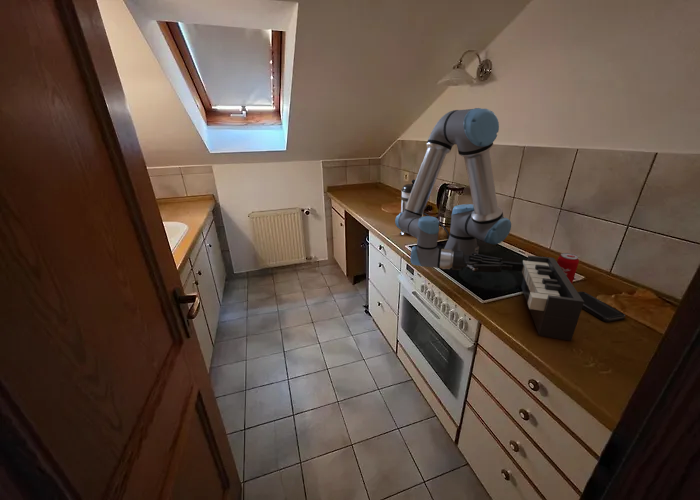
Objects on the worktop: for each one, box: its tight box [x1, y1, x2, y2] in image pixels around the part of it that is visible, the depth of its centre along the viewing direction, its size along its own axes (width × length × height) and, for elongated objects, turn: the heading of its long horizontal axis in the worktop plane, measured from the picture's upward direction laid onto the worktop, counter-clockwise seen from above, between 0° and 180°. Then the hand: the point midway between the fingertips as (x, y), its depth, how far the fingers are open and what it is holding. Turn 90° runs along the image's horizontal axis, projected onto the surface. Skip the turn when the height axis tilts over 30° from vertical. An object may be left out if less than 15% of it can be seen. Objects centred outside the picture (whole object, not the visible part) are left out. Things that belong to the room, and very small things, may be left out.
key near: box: [527, 292, 557, 311], centre depth 85 cm, size 3×8×4 cm, turn 71°
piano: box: [520, 254, 584, 342], centre depth 95 cm, size 29×10×13 cm, turn 161°
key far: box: [521, 259, 549, 275], centre depth 104 cm, size 3×8×4 cm, turn 71°
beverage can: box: [556, 252, 580, 284], centre depth 109 cm, size 6×6×12 cm
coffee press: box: [399, 179, 424, 236], centre depth 162 cm, size 17×16×30 cm
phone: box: [577, 291, 626, 323], centre depth 98 cm, size 8×1×15 cm
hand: (522, 267), depth 105 cm, fingers closed
